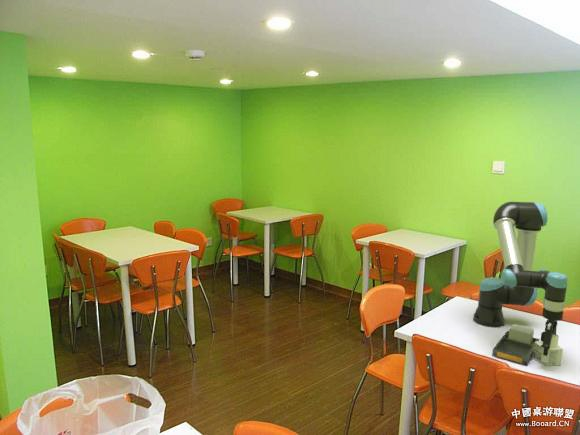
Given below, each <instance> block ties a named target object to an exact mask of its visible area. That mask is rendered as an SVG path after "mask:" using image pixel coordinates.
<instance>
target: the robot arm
mask: <svg viewBox="0 0 580 435" xmlns="http://www.w3.org/2000/svg"><path fill="white" fill-rule="evenodd" d="M492 222H493V223H492V224H493V227H494V228H495V230H496V231H497V236H498V240H499V245H500V250H501V255H502V259H503V260H502V261H503V264H504V269H502V271H501V273H500V274H501V276H500V277H485V278H484V279H481V281H480V283H479V288H478V289H479V291H478V292H479V293H478V294H479V295H478V301H477V302H478V304H477V307H476V310H475V311H474V313H473V317H472V319H473V321H474V322H475V323H477V324H478V325H481V326H483V327H484V326H485V327H490V328H500V327H504V326H505V317H504V312H503V305H509V306H510V305H511V306H521V307H525V306H526V307H530V306H532V305H533V304H535V302H536V300H537V298H538V297H537V296H538V289H542V290H544V298H543V305H542V307H543V308H542V314H541V315H542V317H543V318H544V319H546V321H545V327H544V332H545V334H544V339H543V345H541V347H543V349H542V357H541V361H542V362H546V363H548V362H549V354H550V344H551V339H552V334H554V333H555V334H557V326H558V322H559V321H562V320H563V318H564V309H565V308H564V307H566V306H567V304H566V303H565V302H566V295H567V287H568V275H566V274H564V273H561V272H554V271H549V270H548V269H538V270H533V267H534V266H533V265H534V260H535V259H534V258H535V252H536V244H537V243H536V242H537V236H538V233H539V232H542V227H543V228H544V227H545V226H546V225H547V223H548V211H547V208H546V206H545V205H544V204H543V203H541V202H535V201H533V202H532V201H507V202H504V203H503V204H501V205H499V207H498V208H497V209H496V210H495V212H494V215H493V218H492ZM515 229H516V230H515ZM516 231H517V235H516ZM547 345H548V346H547Z"/></svg>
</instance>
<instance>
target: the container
mask: <svg viewBox="0 0 580 435" xmlns="http://www.w3.org/2000/svg"><path fill="white" fill-rule="evenodd" d="M544 334H545V331H541V333H540V340H539V341H536V342H535V347H534V354H533V356H532V358H533V359H535V361H537V362H538V363H540V364H541V365H543V367H545V366H547V367H548V366H549V367H550V366H556V367H557V366H561V365H562V358H563V357H562V356H563V351H564V350H563V348H562V347H560V346H559V345H558V344H559V335H558V334H557V333H556V334H555V333H554V334H552V339H551V344H550V354H549V362H548V363H546V362H542V361H541V357H542V349H543V347H541V345H543V339H544ZM547 346H548V345H547Z"/></svg>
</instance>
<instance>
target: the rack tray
mask: <svg viewBox="0 0 580 435" xmlns="http://www.w3.org/2000/svg"><path fill="white" fill-rule="evenodd" d="M508 338H509V330H507V331H506V332H505V333H504V335H503V336H502V337H501V338H500V340H499V341H498V342H497V344H496V345H495V346H494V347H493V348H492V357H495V358H499V359H501V360H502V359H503V360H505V361H509V362H512V363H516V364H519V365H522V366H527V367H528V365H529V363H530V361H531V360H532V358H533V355H534V347H535V342H536V341H540V340H541V338H537V337H534V336H533V341H532V343H531V345H530V344H526V343H522V342H518V341H515V340H511V339H508Z"/></svg>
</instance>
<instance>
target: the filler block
mask: <svg viewBox="0 0 580 435" xmlns="http://www.w3.org/2000/svg"><path fill="white" fill-rule="evenodd" d="M508 331H509V338H508V339H511V340H515V341H518V342H522V343H526V344H530V345H531V343H532V341H533V337H534V333H535V329H534V328H532V327H527V326H524V325H520V324H515V323H513V324H512V325H511V326H510V327H509V329H508Z"/></svg>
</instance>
